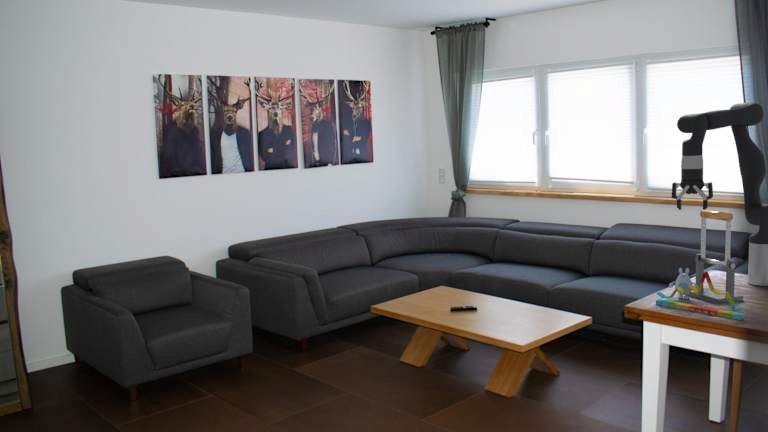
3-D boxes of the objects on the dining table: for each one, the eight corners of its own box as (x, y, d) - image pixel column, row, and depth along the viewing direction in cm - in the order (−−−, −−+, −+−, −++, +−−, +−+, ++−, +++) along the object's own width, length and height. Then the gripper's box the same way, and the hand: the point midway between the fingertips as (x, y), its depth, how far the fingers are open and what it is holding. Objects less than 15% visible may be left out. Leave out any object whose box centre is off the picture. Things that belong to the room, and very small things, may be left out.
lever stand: (708, 291, 273) (709, 252, 271) (745, 301, 256) (746, 259, 254) (684, 294, 269) (685, 254, 267) (719, 305, 252) (720, 262, 250)
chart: (655, 305, 256) (655, 266, 254) (659, 303, 258) (660, 264, 256) (739, 321, 233) (740, 277, 231) (743, 319, 235) (744, 276, 233)
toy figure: (667, 299, 263) (668, 268, 262) (669, 295, 269) (669, 265, 267) (698, 301, 258) (698, 270, 257) (698, 297, 264) (699, 267, 263)
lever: (704, 261, 268) (706, 209, 265) (731, 267, 255) (733, 212, 253) (698, 262, 267) (699, 210, 264) (725, 267, 254) (726, 213, 252)
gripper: (714, 166, 259) (713, 208, 261) (673, 166, 266) (673, 208, 268) (711, 167, 252) (711, 211, 254) (670, 168, 260) (670, 210, 262)
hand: (692, 209), depth 261 cm, fingers open, 8 cm apart
